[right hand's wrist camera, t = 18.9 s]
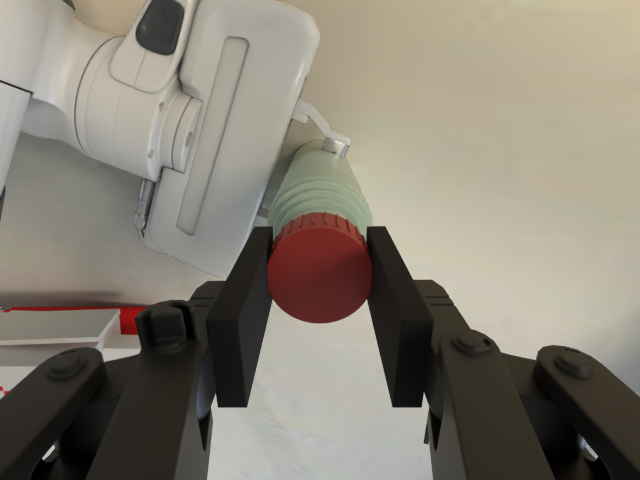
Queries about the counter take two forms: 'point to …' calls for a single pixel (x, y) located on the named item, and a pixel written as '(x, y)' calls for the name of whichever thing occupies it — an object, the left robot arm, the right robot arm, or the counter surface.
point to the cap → (319, 268)
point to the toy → (61, 336)
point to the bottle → (319, 190)
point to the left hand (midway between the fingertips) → (330, 188)
